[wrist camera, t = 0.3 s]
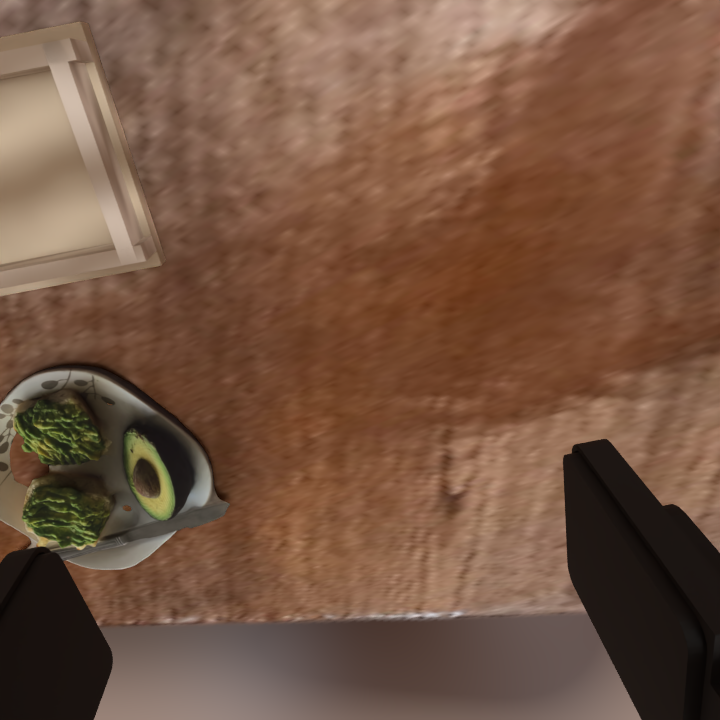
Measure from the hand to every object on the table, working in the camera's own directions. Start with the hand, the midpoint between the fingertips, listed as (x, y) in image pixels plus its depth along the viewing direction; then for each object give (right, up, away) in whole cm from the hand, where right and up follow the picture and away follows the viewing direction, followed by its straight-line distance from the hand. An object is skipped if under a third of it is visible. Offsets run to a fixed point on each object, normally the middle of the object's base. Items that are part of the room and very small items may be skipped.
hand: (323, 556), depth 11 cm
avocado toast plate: (-20, -5, +35) cm, 41 cm away
